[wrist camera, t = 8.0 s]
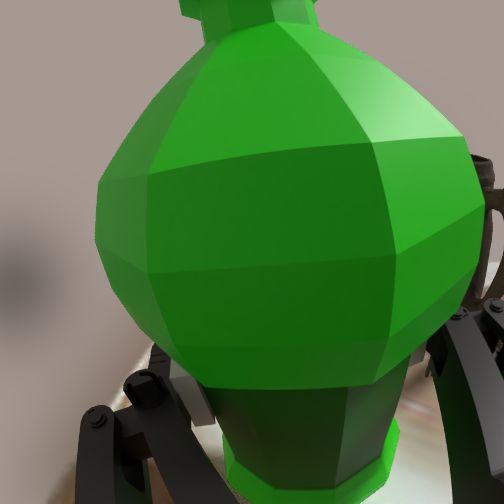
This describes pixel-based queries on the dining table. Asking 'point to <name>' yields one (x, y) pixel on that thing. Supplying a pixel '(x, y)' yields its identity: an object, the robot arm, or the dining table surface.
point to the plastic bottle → (291, 243)
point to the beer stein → (486, 239)
